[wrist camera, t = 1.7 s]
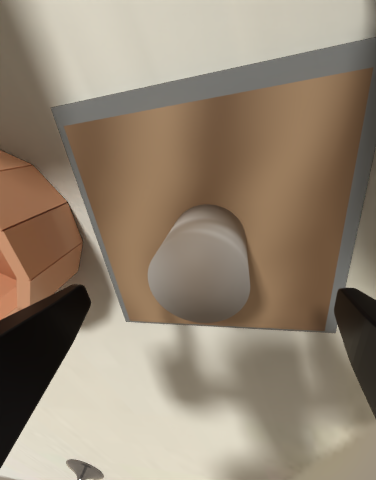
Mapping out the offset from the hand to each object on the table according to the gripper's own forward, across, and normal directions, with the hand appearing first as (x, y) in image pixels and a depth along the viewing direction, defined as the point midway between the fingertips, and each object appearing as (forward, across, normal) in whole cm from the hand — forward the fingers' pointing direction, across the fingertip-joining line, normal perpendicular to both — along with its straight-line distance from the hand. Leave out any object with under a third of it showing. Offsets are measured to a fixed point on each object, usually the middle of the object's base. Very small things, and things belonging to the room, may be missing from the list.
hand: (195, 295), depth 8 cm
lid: (+6, 0, 0) cm, 6 cm away
